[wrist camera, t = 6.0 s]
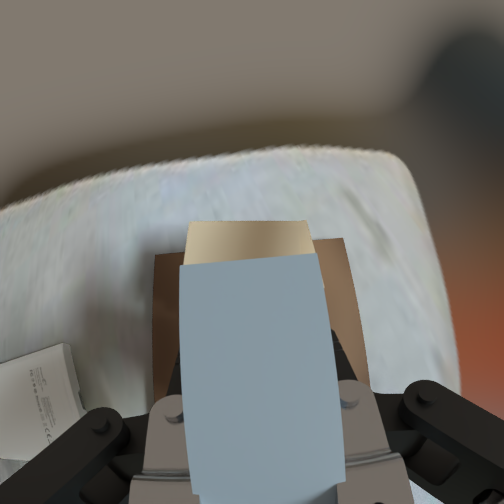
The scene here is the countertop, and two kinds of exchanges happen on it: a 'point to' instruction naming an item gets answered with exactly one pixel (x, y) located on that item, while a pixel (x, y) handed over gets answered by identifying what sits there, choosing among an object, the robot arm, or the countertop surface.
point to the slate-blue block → (259, 382)
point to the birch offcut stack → (245, 240)
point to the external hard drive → (37, 401)
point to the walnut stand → (336, 294)
